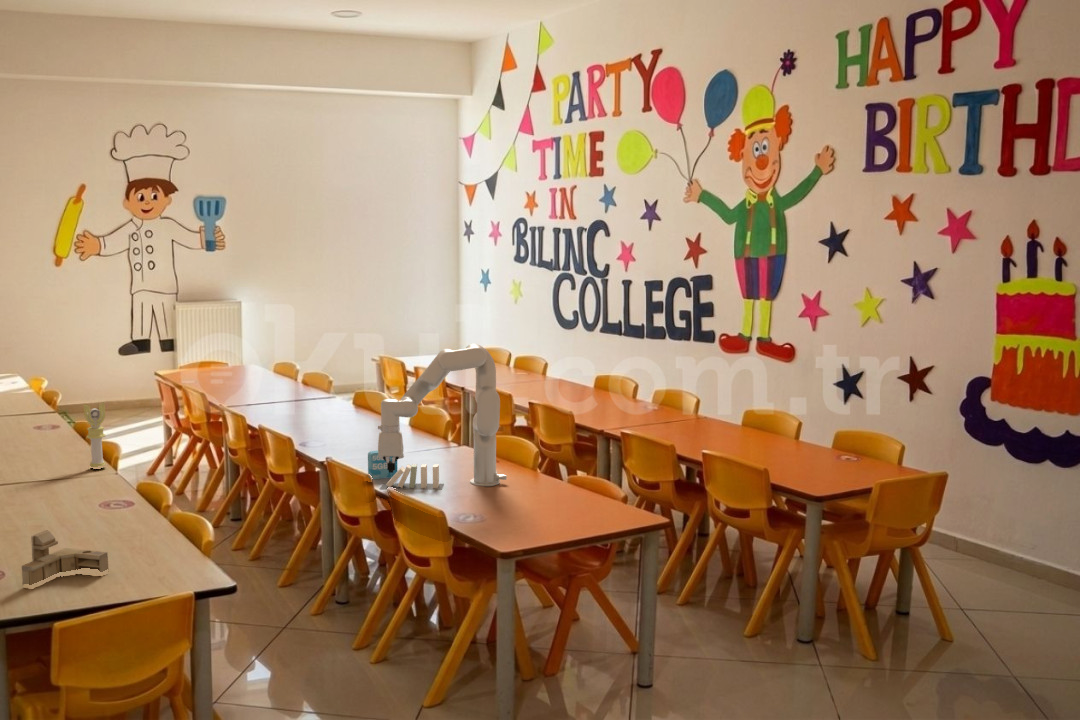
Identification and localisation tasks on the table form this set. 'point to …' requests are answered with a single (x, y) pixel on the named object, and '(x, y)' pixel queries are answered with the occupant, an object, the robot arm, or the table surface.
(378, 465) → the data package
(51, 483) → the table surface
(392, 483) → the domino
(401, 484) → the domino
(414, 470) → the domino
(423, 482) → the domino
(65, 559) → the toy kitchen set
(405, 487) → the domino mat
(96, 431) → the trophy
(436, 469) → the domino
